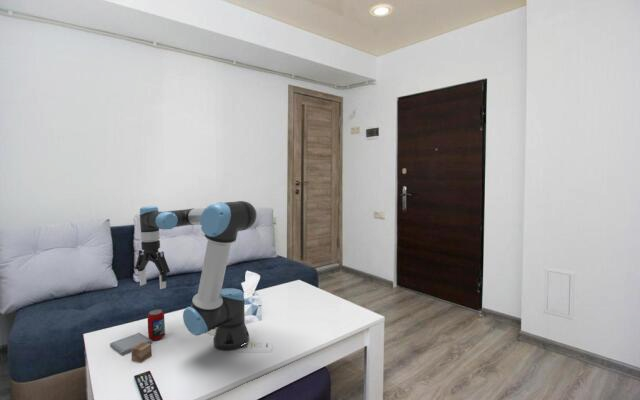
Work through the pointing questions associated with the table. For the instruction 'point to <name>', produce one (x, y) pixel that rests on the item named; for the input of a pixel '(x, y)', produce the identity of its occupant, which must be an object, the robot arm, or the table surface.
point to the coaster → (129, 343)
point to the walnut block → (141, 352)
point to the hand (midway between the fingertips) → (152, 286)
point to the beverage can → (156, 324)
